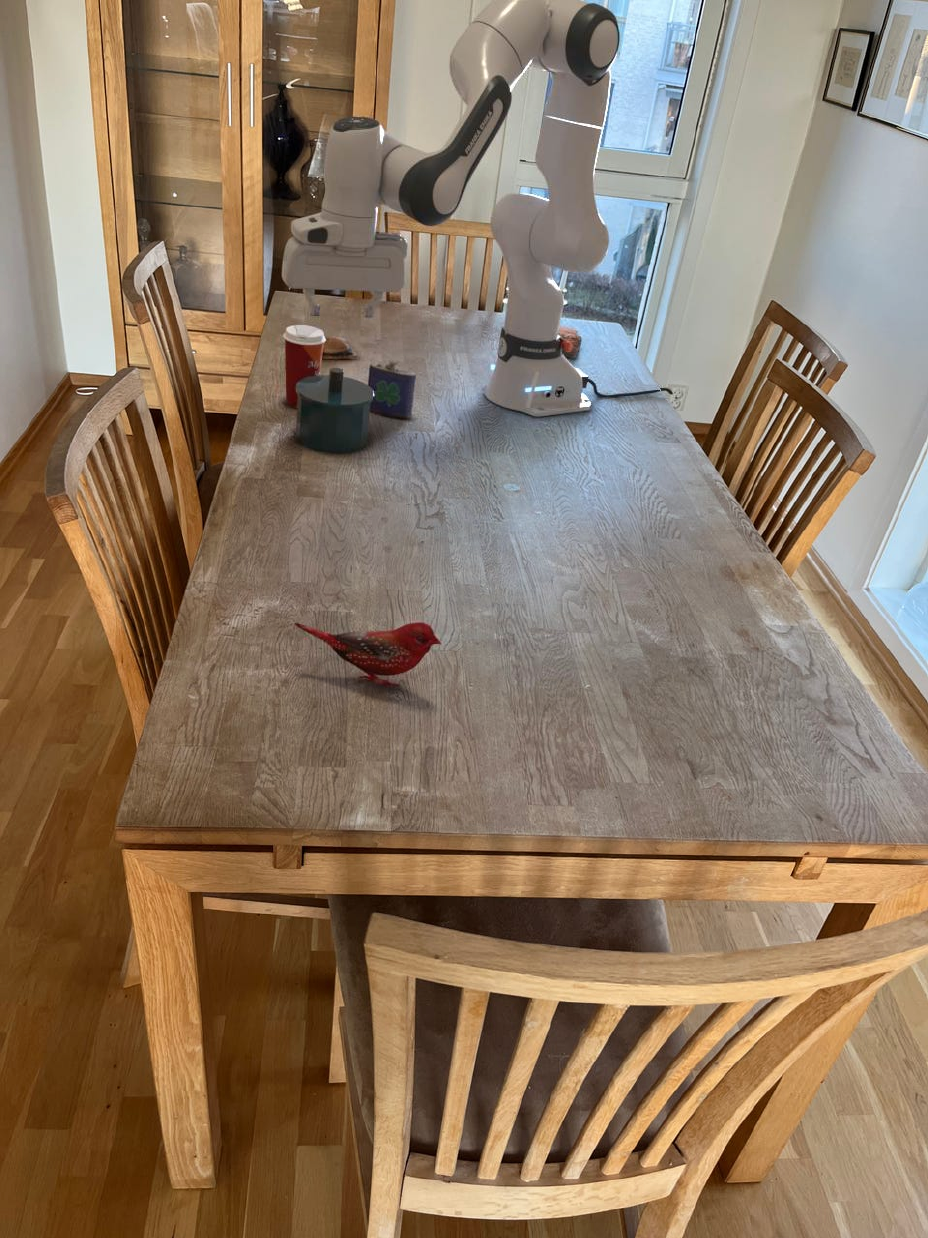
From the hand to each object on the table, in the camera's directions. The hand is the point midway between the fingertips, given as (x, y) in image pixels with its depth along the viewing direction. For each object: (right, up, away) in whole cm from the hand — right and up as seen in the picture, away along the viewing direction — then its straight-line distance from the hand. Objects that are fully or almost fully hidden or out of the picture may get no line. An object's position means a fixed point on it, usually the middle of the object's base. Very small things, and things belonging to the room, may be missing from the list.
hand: (341, 315), depth 164 cm
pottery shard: (+42, +15, +74) cm, 86 cm away
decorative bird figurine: (+8, -58, -46) cm, 75 cm away
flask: (+6, -11, +25) cm, 28 cm away
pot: (-3, -18, +12) cm, 22 cm away
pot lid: (-2, -11, +7) cm, 13 cm away
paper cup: (-11, -10, +23) cm, 27 cm away
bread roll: (-8, +7, +48) cm, 49 cm away
